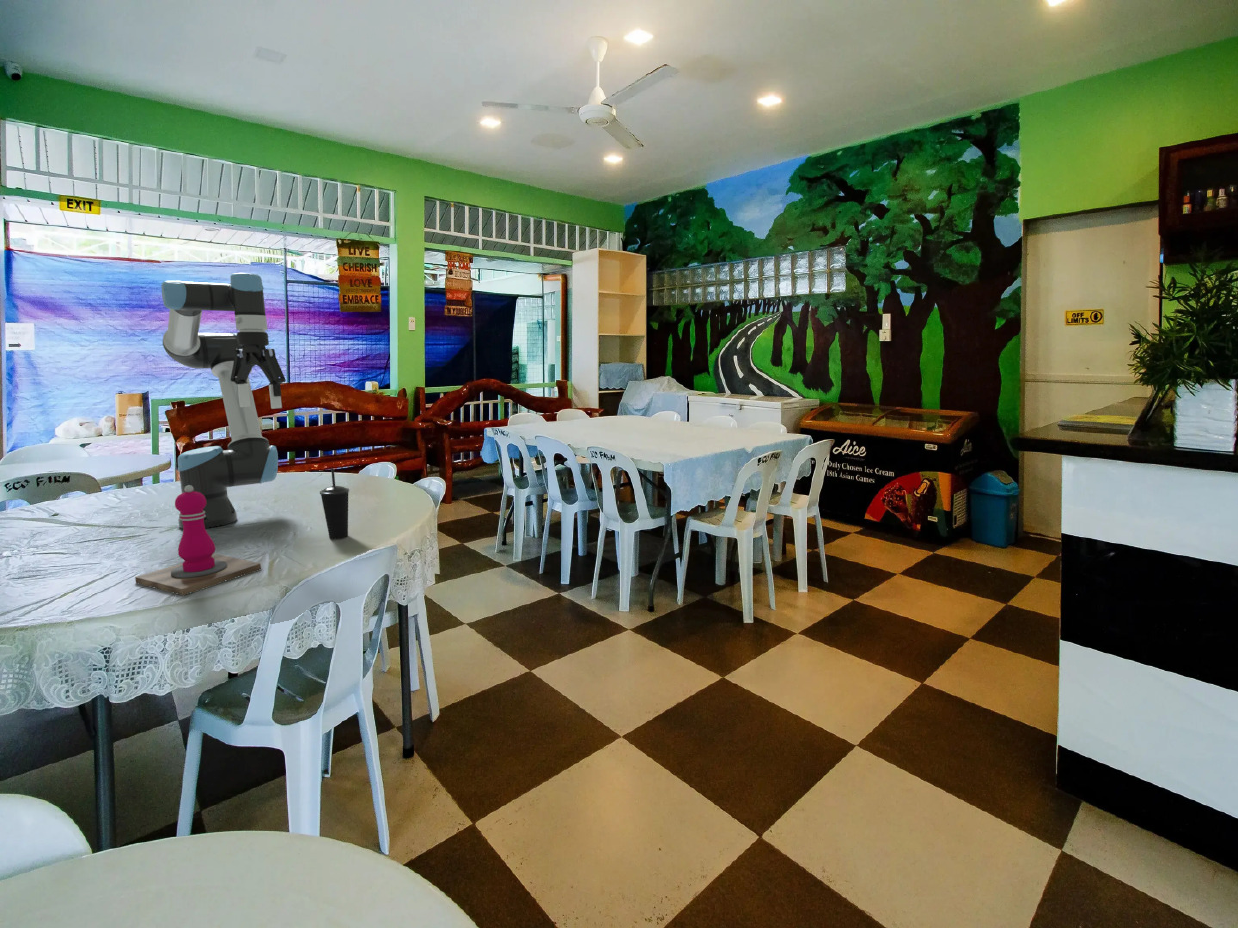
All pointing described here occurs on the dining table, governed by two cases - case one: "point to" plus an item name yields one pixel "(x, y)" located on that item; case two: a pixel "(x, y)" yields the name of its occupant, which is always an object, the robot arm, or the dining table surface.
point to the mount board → (197, 575)
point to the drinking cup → (336, 509)
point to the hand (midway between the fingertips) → (260, 407)
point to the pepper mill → (194, 532)
